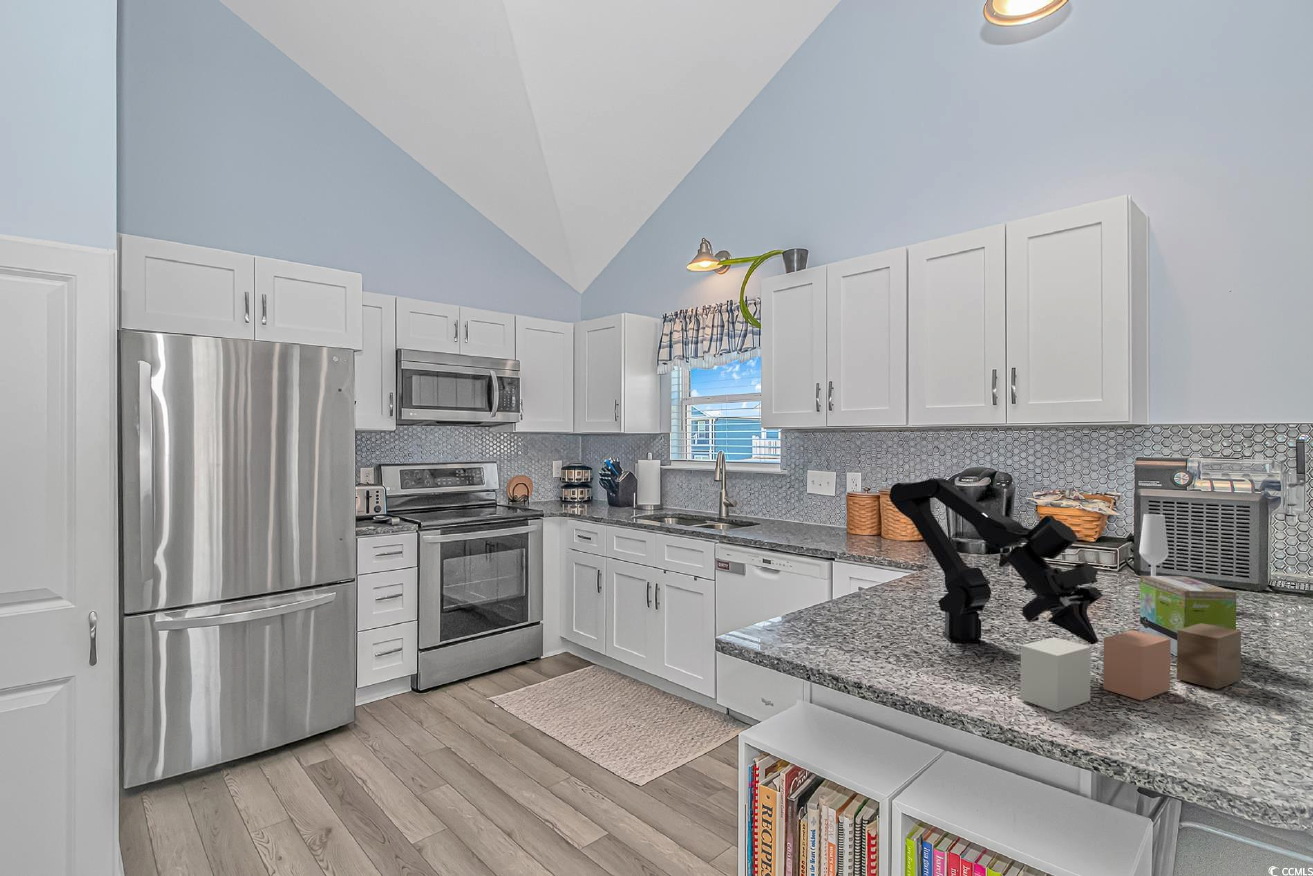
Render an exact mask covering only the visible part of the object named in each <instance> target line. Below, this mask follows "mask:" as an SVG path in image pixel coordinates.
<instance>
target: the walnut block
mask: <svg viewBox="0 0 1313 876" xmlns="http://www.w3.org/2000/svg"><path fill="white" fill-rule="evenodd" d="M1241 656H1242V631H1241V630H1237V629H1236V630H1233V629H1228V628H1223V627H1218V626H1213V625H1208V624H1203V623H1200V624H1197V625H1193V626H1190V627H1186V628H1182V629H1179V630H1177V657H1176V679H1178V680H1181V681H1184V682H1188V683H1192V684H1196V685H1199V686H1203V687H1206V688H1211V689H1214V690H1219V689H1222V688H1224V687H1226V686H1229V685H1231V684H1234V683H1237V682H1239V681H1241V678H1242V677H1241V675H1242V674H1241V673H1242V672H1241V671H1242V670H1241V669H1242V668H1241V667H1242V660H1241V659H1242V657H1241Z"/></svg>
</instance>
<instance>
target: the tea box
mask: <svg viewBox="0 0 1313 876" xmlns="http://www.w3.org/2000/svg"><path fill="white" fill-rule="evenodd" d="M1139 583H1140V584H1139V596H1140V598H1139V632H1142V633H1146V634H1151V635H1155V636H1159V637H1164V638H1168V639H1171V648H1170V655H1172V654H1173V656H1174V657H1176V656H1177V630H1179V629H1182V628H1186V627H1190V626H1193V625H1197V624H1200V623H1203V624H1208V625H1213V626H1218V627H1223V628H1228V629H1233V630H1237V592H1235V591H1233V590H1230V589H1227V588H1223V587H1220V586H1217V585H1213V584H1210V583H1207V582H1204V581H1201V580H1197V579H1195V578H1192V577H1188V576H1181V575H1179V576H1175V575H1174V576H1173V575H1172V576H1171V575H1156V576H1151V575H1140V576H1139Z"/></svg>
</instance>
